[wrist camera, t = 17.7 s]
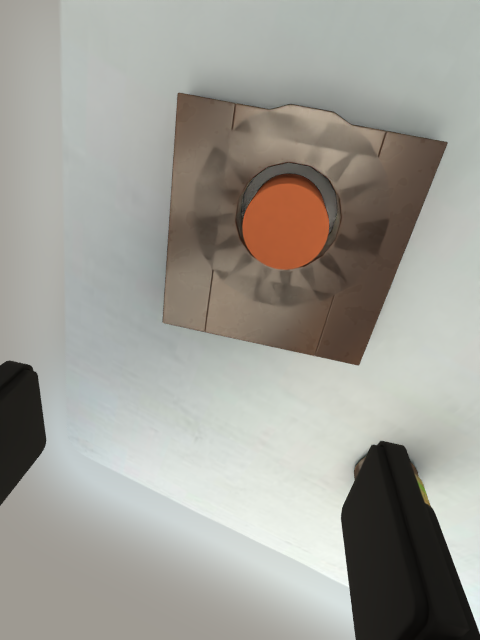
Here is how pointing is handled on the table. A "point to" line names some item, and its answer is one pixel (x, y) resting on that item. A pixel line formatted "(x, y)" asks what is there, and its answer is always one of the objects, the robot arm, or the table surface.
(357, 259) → the back board
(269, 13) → the table surface
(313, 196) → the orange cylinder
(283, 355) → the table surface
